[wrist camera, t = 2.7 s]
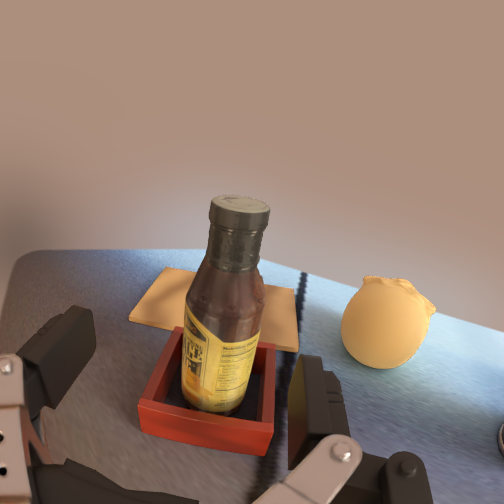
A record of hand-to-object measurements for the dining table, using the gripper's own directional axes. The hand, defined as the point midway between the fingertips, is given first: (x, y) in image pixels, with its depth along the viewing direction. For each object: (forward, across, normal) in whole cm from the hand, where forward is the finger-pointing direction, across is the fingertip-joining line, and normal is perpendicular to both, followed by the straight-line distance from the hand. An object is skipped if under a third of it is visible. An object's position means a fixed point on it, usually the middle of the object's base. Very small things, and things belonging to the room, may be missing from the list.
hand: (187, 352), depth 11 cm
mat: (+31, +2, +17) cm, 35 cm away
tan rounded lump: (+25, -20, +17) cm, 36 cm away
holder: (+13, 0, +17) cm, 21 cm away
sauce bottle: (+13, 0, +17) cm, 21 cm away
